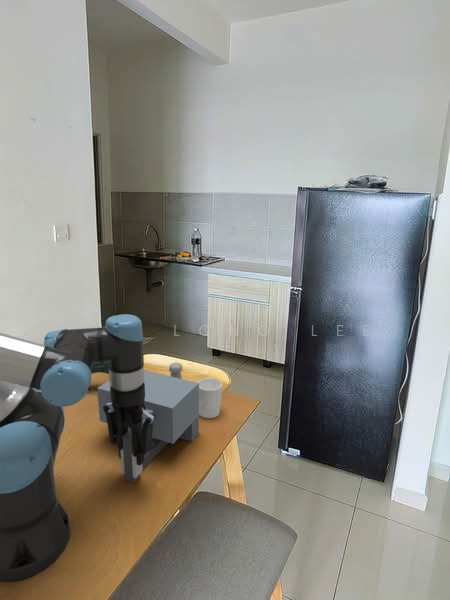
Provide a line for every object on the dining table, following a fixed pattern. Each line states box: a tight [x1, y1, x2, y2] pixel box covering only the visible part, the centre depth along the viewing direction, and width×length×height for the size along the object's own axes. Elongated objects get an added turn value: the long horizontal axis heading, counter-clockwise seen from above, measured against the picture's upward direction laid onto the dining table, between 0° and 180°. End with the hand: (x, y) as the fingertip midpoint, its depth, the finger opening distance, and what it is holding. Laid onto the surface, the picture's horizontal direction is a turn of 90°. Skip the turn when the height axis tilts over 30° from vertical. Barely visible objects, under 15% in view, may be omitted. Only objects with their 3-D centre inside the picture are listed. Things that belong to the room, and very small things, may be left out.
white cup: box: [196, 377, 223, 419], centre depth 117 cm, size 8×8×10 cm
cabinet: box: [96, 369, 200, 444], centre depth 103 cm, size 15×23×16 cm, turn 67°
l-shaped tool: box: [122, 430, 169, 483], centre depth 96 cm, size 18×2×12 cm, turn 156°
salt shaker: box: [168, 361, 183, 379], centre depth 123 cm, size 6×6×13 cm
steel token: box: [151, 437, 159, 447], centre depth 103 cm, size 6×6×1 cm
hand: (132, 472), depth 90 cm, fingers closed on l-shaped tool, 2 cm apart
